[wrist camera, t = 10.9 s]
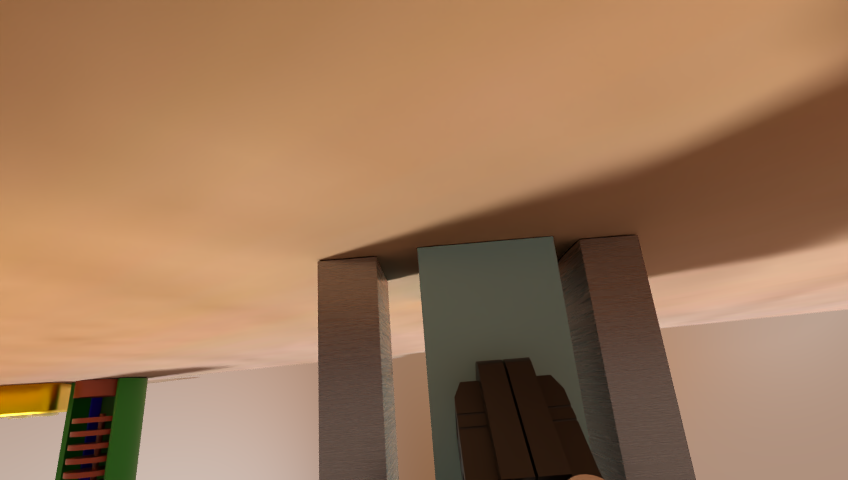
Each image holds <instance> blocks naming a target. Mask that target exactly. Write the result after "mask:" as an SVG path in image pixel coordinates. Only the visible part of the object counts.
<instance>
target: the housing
mask: <svg viewBox="0 0 848 480" xmlns="http://www.w3.org/2000/svg"><path fill="white" fill-rule="evenodd" d="M557 262H558V268H559V273H560V279H561V285H562V290H563V296H564V301H565V307H566V313H567V318H568V324H569V329H570V335H571V341H572V346H573V352H574V357H575V363H576V369H577V374H578V380H579V385H580V391H581V397H582V402H583V408H584V413H585V419H586V425H587V430H588V436H589V441H590V447H591V453H592V455H593V457H594V460H595V462H596V464H597V467H598V469H599V471H600V473H601V475H602V477H603V479H605V480H696V478H695V474H694V470H693V466H692V461H691V457H690V453H689V449H688V445H687V441H686V436H685V432H684V428H683V424H682V420H681V415H680V411H679V407H678V403H677V399H676V394H675V390H674V386H673V382H672V378H671V374H670V369H669V365H668V361H667V357H666V352H665V348H664V345H663V340H662V336H661V332H660V327H659V323H658V319H657V315H656V311H655V306H654V302H653V298H652V294H651V290H650V285H649V281H648V277H647V273H646V269H645V265H644V260H643V256H642V252H641V248H640V244H639V239H638V235H631V236H619V237H607V238H595V239H583V240H579V241H578V242H577V243H576V244H575V245H574V246H573V247H572V248H571V249H570V250H569V251H568V252H567V253H566V254H565V255H563V256H562V257H561V258H560V259H559V260H558V261H557ZM318 365H319V480H399V476H398V458H397V441H396V424H395V423H396V422H395V405H394V387H393V369H392V351H391V334H390V316H389V298H388V282H387V280H386V277H385V275H384V273H383V271H382V269H381V267H380V264H379V262H378V260H377V258H376V257H367V258H355V259H343V260H331V261H319V262H318Z"/></svg>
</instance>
